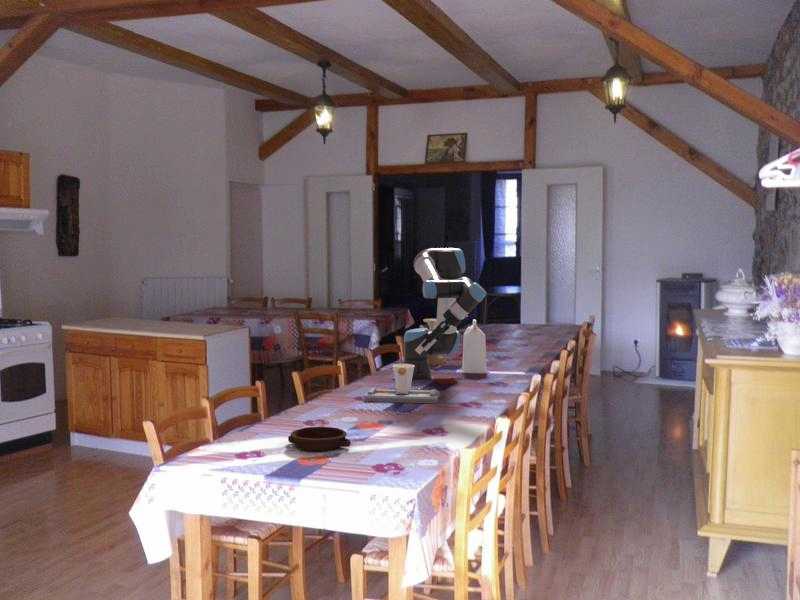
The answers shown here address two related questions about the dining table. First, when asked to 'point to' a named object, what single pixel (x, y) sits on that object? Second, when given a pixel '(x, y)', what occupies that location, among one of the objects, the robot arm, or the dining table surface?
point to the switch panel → (402, 396)
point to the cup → (409, 374)
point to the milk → (474, 350)
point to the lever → (402, 381)
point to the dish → (319, 438)
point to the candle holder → (434, 359)
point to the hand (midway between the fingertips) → (420, 350)
